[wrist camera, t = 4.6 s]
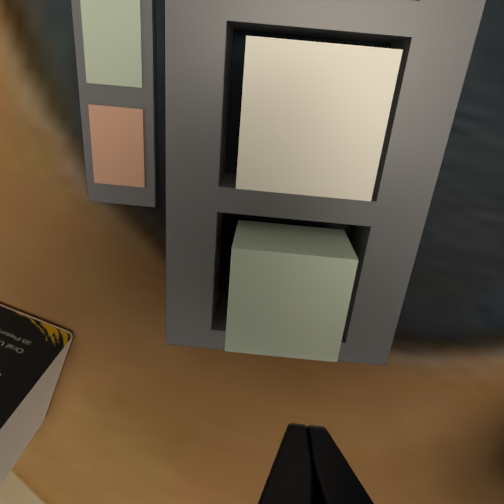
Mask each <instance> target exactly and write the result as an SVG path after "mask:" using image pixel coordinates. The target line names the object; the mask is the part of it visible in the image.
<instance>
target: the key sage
mask: <svg viewBox="0 0 504 504" xmlns="http://www.w3.org/2000/svg"><path fill="white" fill-rule="evenodd" d="M357 265H358V258H357V256H356V254H355V252H354V249H353V247H352V245H351V243H350V241H349V239H348V237H347V235H346V233H345V231H344V230H341V229H330V228H320V227H309V226H298V225H288V224H277V223H267V222H256V221H245V220H238V223H237V227H236V232H235V236H234V240H233V244H232V249H231V264H230V279H229V293H228V308H227V322H226V337H225V351H226V352H236V353H247V354H257V355H267V356H277V357H288V358H298V359H308V360H319V361H329V362H337V360H338V355H339V351H340V346H341V341H342V336H343V332H344V327H345V322H346V317H347V313H348V308H349V303H350V298H351V294H352V289H353V284H354V279H355V275H356V270H357Z"/></svg>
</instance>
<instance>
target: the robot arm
mask: <svg viewBox="0 0 504 504" xmlns="http://www.w3.org/2000/svg"><path fill="white" fill-rule="evenodd" d="M258 504H374V503H373V502H372V500H371V498H370V497H369V495H368V494H367V492H366V491H365V489H364V488H363V486H362V484H361V483H360V481H359V480H358V478H357V477H356V475H355V473H354V472H353V470H352V469H351V467H350V466H349V464H348V462H347V461H346V459H345V458H344V456H343V455H342V453H341V451H340V450H339V448H338V447H337V445H336V444H335V442H334V440H333V439H332V437H331V436H330V434H329V433H328V431H327V430H326V428H324V427H322V426H313V425H309V426H307V427H306V426H305V425H303V424H295V423H290V424H289V425H288V426H287V429H286V432H285V434H284V437H283V439H282V442H281V445H280V447H279V450H278V452H277V455H276V458H275V460H274V463H273V465H272V468H271V471H270V473H269V476H268V479H267V481H266V484H265V486H264V489H263V492H262V494H261V497H260V499H259V502H258Z"/></svg>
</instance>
